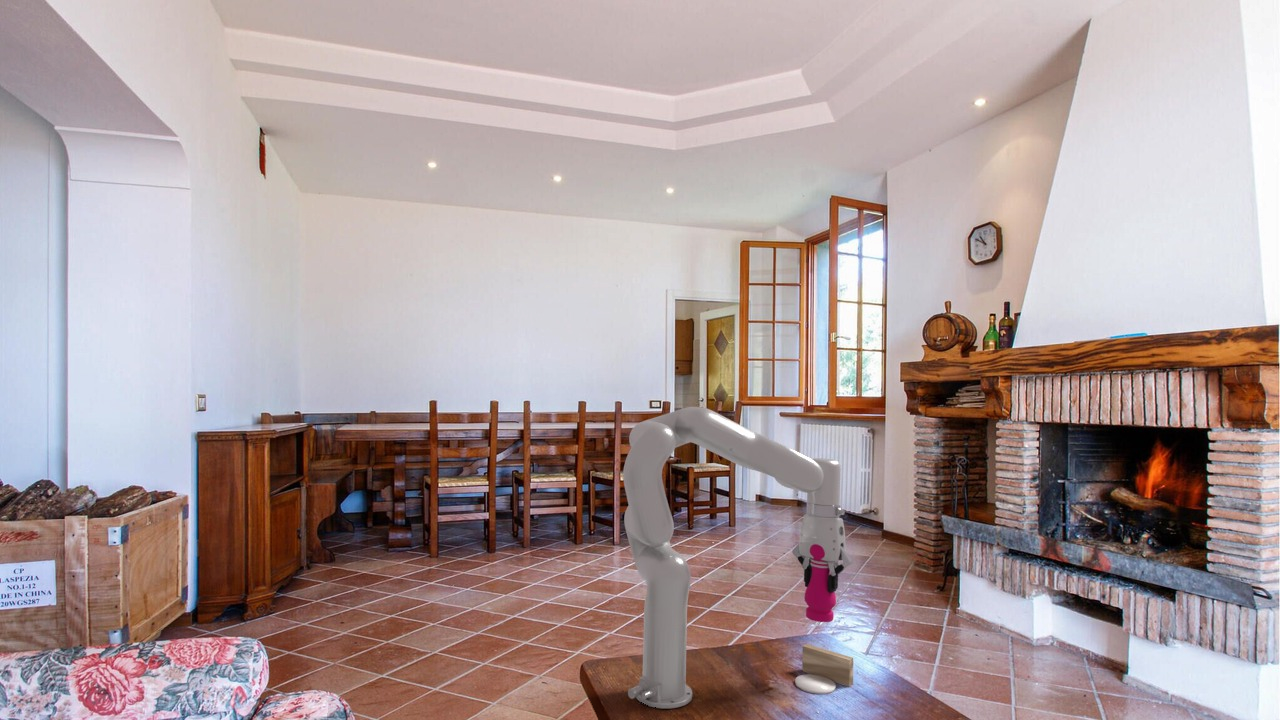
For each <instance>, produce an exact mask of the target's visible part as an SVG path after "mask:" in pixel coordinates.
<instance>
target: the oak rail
mask: <svg viewBox="0 0 1280 720" xmlns="http://www.w3.org/2000/svg"><path fill="white" fill-rule="evenodd" d="M801 665H802V666H801V669H802V672H804V673H805V674H806V673H807V674H812V675H819V676H823V677H826V678H828V679H830V680H832V681H833V682H834V683H835V684H836V683H837V684H839V685H843V686H846V687H848V688H849V687H852V686H853V685H854V657H851V656H850V655H849V656H848V655H845V654H842V653H838V652H835V651H832V650H828V649H824V648H822V647H819V646H815V645H811V644H808V643H806V644H803V645H802V664H801Z"/></svg>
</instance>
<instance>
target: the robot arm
mask: <svg viewBox="0 0 1280 720" xmlns="http://www.w3.org/2000/svg"><path fill="white" fill-rule="evenodd" d="M628 442H629V446H630V448H629V449H630V450H629V451H628V454H627V456H626V458H625V462H624V466H623V475H622V476H623V477H622V479H623V485H624V490H625V495H626V499H627V504H628V506H627V507H626V509H625V512H624V518H623V519H624V520H623V521H624V522H623V523H624V529H625V532H626V535H627V540H628V544H629V548H630V551H631V555H632V559H633V561H634V565H635V567H636V570H637V572H638V574H639V576H640V577H641V578H642V579H643V580H644V582H645V583H646V594H645V599H644V606H643V607H644V608H643V609H644V610H643V636H642V637H643V639H642V640H643V644H642V646H643V647H642V676H640V677H639V683H637V685H636V686H634V687H630V688H629V689H628V690H627V695H628V698H630V699H632V700H633V699H635V698H636V700H638V701H639V702H640V703H641V702H642V703H641V704H643V703H644V704H643V705H645V704H646V705H645V706H647V705H648V707H651V708H655V707H656V708H655V709H664V710H665V709H667V710H669V709H670V710H671V709H677V708H680V707H683V706H686V705H687V704H689V703H690V702H691V701H692V699H693V690H692V688H691V687H690V686H689V685H688V684H686V683H687V682H686V679H687V677H686V676H687V636H688V635H687V633H688V632H687V630H688V629H687V628H688V626H687V625H688V624H687V619H688V602H689V601H688V600H689V595H690V594H689V593H690V588H691V582H692V581H691V578H692V577H691V575H692V573H691V570H690V569H691V568H690V567H689V564H688V562H687V561H686V560H685V558H684V556H682V555H681V554H680V553H679V552H678V551H676V550H675V549H674V548H672V545H671V542H670V541H671V540H672V537H673V535H674V532H675V531H674V529H675V524H674V519H673V515H672V512H671V509H670V506H669V503H668V498H667V495H666V491H665V486H664V482H663V469H664V466H665V464H666V462H667V461H668V459H669V458H670V456H672V455H673V453H674V451H675V449H676V448H678V447H681V446H683V445H686V444H690V443H691V444H692V443H693V444H694V445H698V446H700V447H701V448H703V449H706V450H708V452H712V453H713V454H716V455H717V456H719V457H722V458H724V459H725V460H728V461H730V462H731V463H734V464H736V465H738V466H741V467H743V468H745V469H748V470H752V471H756V472H759V473H761V474H765V475H767V476H770V477H772V478H774V479H775V481H776V482H777V484H779V485H781V486H782V487H785V488H787V489H790V490H795V491H798V492H802V493H806V514H803V518H802V521H801V526H800V532H799V533H800V534H799V543H798V544H797V545H796V546H795V547H794V548H793V549H792V551H791V553H792V554H793V555H794V557H795V558H796V559H797V561H798V562H799V564H800V565H801V567H802V569H803V582H804V587H805V588H807V587H808V584H809V582H810V580H811V576H812V565H811V564H810V563H811V560H810V559H811V558H812V559H813V558H814V557H813V556H812V555H811V554H810V547H811V546H812V545H814V544H818V545H820V546H821V547H822V548H823V549H824V552H825V556H824V558H822V559H821V560H823V561H826V562H828V565H829V569H830V575H828V592H829V593H832V592H835V593H836V591H837V590H838V586H839V575H840V574H841V573H842V572H843V571H844V570H845V569H847V568H849V567H850V566H852V565H853V560H852V559H851V558H850V556H849V554H848V553H847V547H846V546H847V545H846V530H845V524H844V520H843V518H841V516H844V515H845V514H846V513H845V512H846V511H845V509H844V508H841V501H840V499H841V498H840V497H841V464H840V462H839V460H836V459H833V458H832V459H831V458H824V457H823V458H817V457H814V458H810V457H808V456H805V455H804V454H802V453H800V452H798V451H796V450H794V449H792V448H790V447H787V446H785V445H784V444H781V443H779V442H777V441H775V440H772V439H771V438H769V437H766V436H765V435H762V434H760V433H757V432H755V431H753V430H751V429H749V428H747V427H745V426H743V425H741V424H739V423H738V422H735V421H733V420H732V419H729V418H728V417H726V416H724V415H722V414H720V413H718V412H716V411H714V410H711V409H710V408H706V407H701V406H687V407H683V408H681V409H677V410H674V411H672V412H668V413H665V414H662V415H660V416H656V417H653V418H648V419H646V420H642V421H641V422H638V423H637V424H636V425H635V426H633V428H632V429H631V431H630V433H629V440H628ZM839 561H842V563H839Z"/></svg>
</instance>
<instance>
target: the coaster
mask: <svg viewBox="0 0 1280 720" xmlns="http://www.w3.org/2000/svg"><path fill="white" fill-rule="evenodd" d="M794 681H795V682H794V684H795V686H796V687H797V688H799V689H800V690H802V691H804V692H807V693H810V694H815V695H817V694H818V695H827V694H831V693H834V692H835V691H836V682H833V681H832V680H830V679H828V678H826V677H823V676H819V675H812V674H809V673H807V674H806V673H805V674H802V675H798V676H797V677H795V680H794Z"/></svg>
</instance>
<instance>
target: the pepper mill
mask: <svg viewBox="0 0 1280 720" xmlns="http://www.w3.org/2000/svg"><path fill="white" fill-rule="evenodd" d="M810 554H811V555H812V556H813V557H814V558H813V559H812V558H811V559H810V560H811V563H810V564H811V565H812V576H811V580H810V582H809V584H808V587H805V588H806V589H805V592H804V600H803V601H804V602H805V604H806V605H807V607H806V609H805V617H806V618H807V619H808V620H810V621H813V622H818V623H831V622H833V620H834V611H833V610H832V609H833V608H834V607H835V606H836V605H837V596H836V591H835V592H832V593H829V592H828V575H830V569H829V565H828V562H826V561H823V560H821V559H822V558H824V556H825V552H824V549H823V548H822V547H821V546H820V545H818V544H814V545H812V546H811V547H810Z"/></svg>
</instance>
